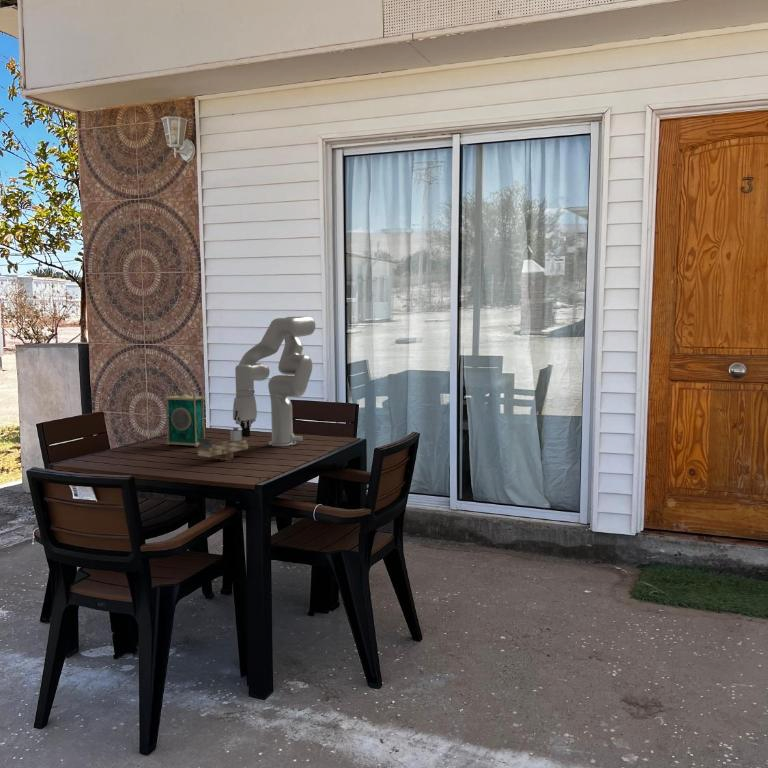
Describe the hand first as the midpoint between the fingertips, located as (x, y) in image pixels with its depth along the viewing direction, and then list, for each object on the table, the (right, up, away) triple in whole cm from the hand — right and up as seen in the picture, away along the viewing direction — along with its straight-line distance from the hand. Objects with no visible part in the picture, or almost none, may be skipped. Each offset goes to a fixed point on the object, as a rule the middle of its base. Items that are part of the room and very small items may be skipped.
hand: (246, 436), depth 322 cm
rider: (-3, -3, -5) cm, 6 cm away
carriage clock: (-32, -6, +24) cm, 40 cm away
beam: (-7, -9, -10) cm, 15 cm away
